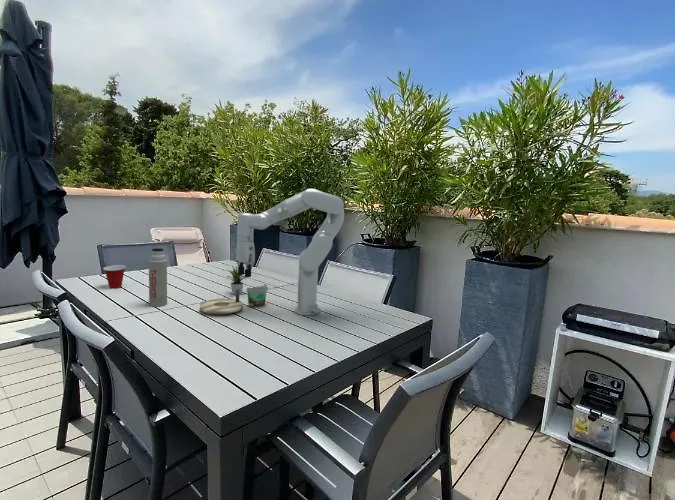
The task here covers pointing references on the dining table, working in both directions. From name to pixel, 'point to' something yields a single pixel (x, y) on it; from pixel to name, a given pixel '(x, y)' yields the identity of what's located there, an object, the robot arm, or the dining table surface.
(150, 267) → the thermos bottle
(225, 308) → the turntable
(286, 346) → the dining table surface
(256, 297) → the food container
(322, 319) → the dining table surface
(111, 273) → the plastic cup
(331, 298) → the dining table surface
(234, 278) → the house plant
